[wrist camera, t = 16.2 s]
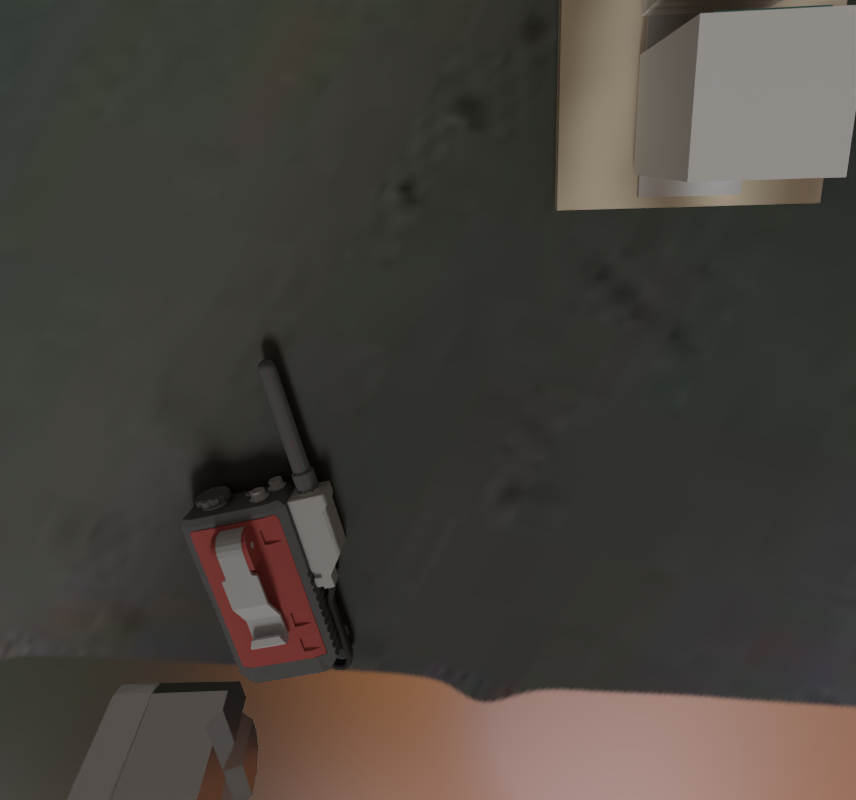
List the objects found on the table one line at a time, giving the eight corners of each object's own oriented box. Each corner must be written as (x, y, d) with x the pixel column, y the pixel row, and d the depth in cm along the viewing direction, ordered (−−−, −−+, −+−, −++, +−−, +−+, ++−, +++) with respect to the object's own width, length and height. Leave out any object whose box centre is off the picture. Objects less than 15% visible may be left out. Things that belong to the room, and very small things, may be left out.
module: (633, 174, 33) (687, 182, 24) (640, 49, 32) (700, 6, 22) (746, 170, 33) (846, 176, 23) (758, 44, 31) (872, -4, 22)
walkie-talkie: (387, 646, 46) (289, 348, 40) (376, 695, 42) (266, 371, 36) (259, 667, 47) (147, 383, 42) (236, 717, 43) (108, 408, 37)
